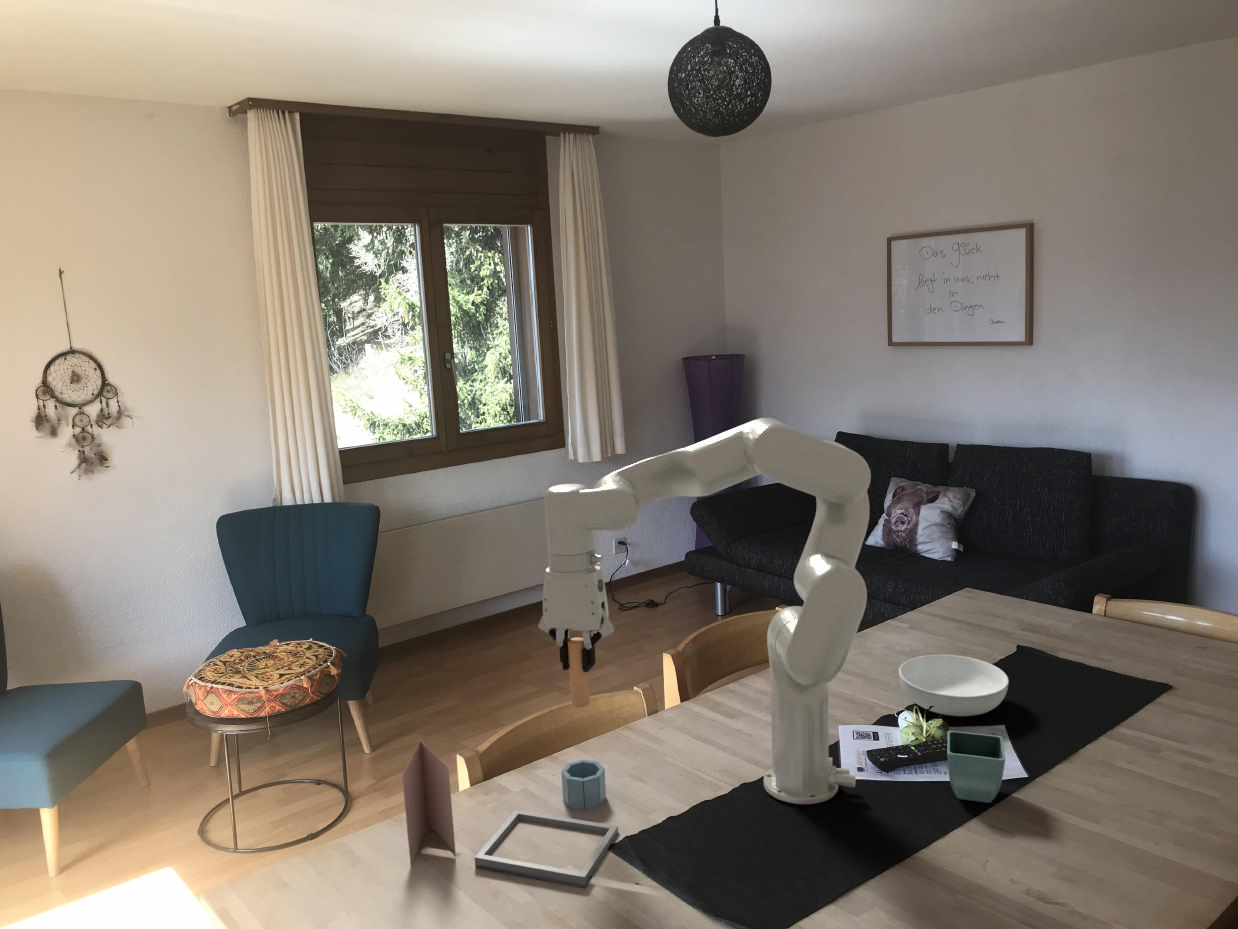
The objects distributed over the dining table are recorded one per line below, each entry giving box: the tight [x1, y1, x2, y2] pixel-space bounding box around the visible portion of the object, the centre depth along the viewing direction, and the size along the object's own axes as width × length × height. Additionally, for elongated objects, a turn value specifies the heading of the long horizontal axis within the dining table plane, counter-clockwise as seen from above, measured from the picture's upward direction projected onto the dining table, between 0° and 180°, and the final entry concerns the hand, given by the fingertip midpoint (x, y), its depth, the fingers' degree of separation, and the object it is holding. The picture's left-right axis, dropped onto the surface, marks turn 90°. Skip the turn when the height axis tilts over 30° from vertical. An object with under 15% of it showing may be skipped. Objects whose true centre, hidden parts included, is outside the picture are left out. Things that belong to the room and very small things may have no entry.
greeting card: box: [401, 740, 457, 866], centre depth 149 cm, size 11×7×15 cm, turn 178°
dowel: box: [568, 637, 591, 708], centre depth 156 cm, size 3×3×11 cm
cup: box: [561, 759, 607, 811], centre depth 160 cm, size 7×7×6 cm
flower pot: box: [946, 730, 1006, 804], centre depth 157 cm, size 9×9×9 cm
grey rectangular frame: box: [474, 809, 619, 889], centre depth 146 cm, size 18×14×2 cm
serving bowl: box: [898, 654, 1010, 717], centre depth 191 cm, size 21×21×7 cm
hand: (578, 667), depth 156 cm, fingers closed on dowel, 3 cm apart
